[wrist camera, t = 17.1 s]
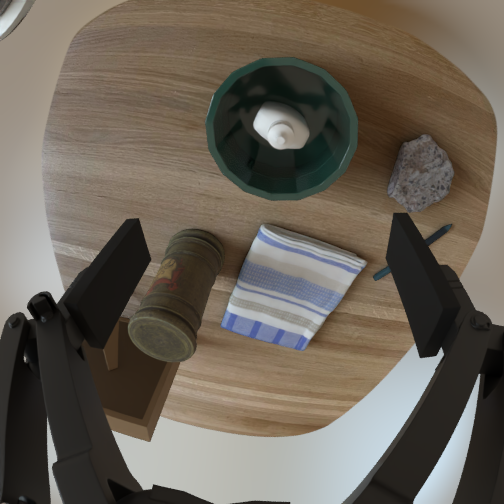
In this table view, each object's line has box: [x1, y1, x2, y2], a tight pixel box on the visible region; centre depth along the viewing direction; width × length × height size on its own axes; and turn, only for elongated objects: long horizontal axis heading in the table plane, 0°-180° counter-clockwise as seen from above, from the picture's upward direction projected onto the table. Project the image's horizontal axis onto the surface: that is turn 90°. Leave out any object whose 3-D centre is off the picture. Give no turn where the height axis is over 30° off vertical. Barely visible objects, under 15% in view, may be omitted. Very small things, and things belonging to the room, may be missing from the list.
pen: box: [373, 224, 452, 281], centre depth 43 cm, size 1×16×1 cm, turn 136°
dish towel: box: [221, 224, 367, 351], centre depth 49 cm, size 17×24×3 cm
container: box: [128, 229, 224, 362], centre depth 41 cm, size 9×9×18 cm
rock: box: [387, 134, 454, 213], centre depth 34 cm, size 9×11×4 cm
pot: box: [205, 57, 358, 201], centre depth 31 cm, size 15×15×9 cm
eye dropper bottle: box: [253, 101, 310, 150], centre depth 29 cm, size 4×6×12 cm
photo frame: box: [82, 317, 180, 442], centre depth 48 cm, size 15×22×25 cm
